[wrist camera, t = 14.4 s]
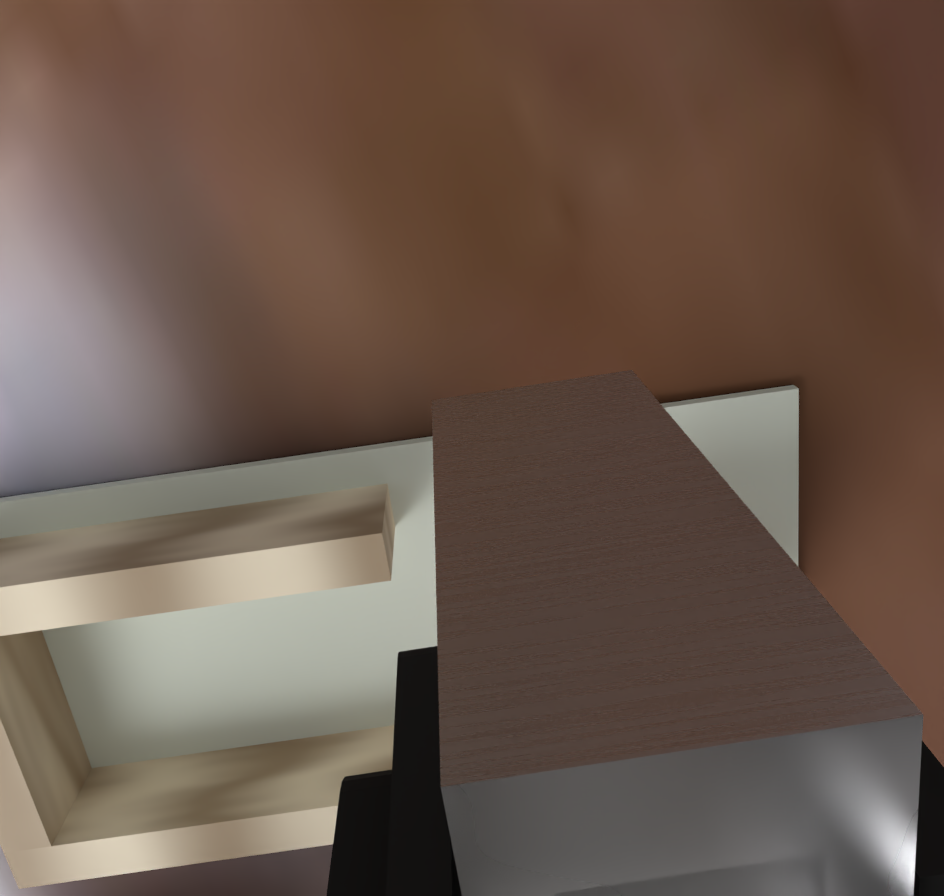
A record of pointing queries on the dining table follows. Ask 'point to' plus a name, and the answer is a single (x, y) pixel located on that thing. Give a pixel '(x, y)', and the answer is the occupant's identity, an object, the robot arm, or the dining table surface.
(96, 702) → the mat
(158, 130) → the dining table surface
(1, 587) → the frame
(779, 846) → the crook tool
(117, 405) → the dining table surface
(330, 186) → the dining table surface
